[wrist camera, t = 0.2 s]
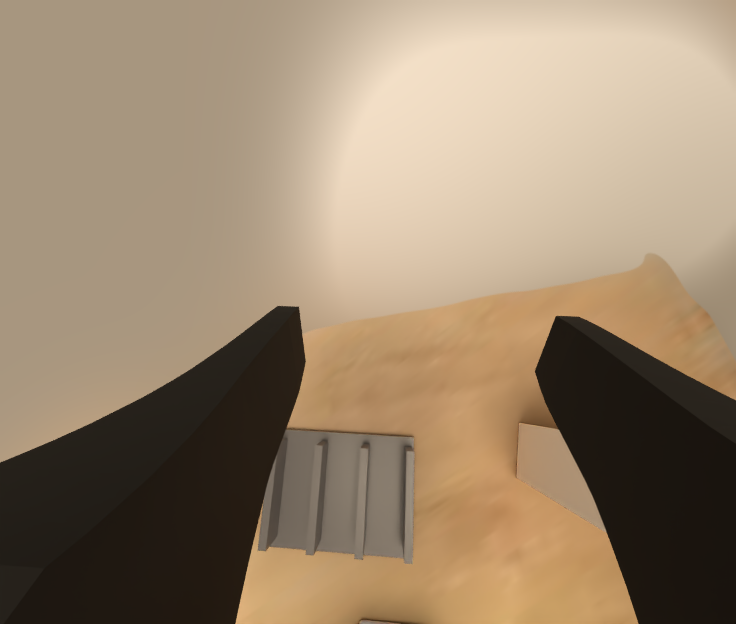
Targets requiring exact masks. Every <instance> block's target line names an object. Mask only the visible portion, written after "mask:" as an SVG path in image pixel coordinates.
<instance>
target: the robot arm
mask: <svg viewBox="0 0 736 624" xmlns="http://www.w3.org/2000/svg"><path fill="white" fill-rule="evenodd" d="M305 362H306V361H305V353H304V345H303V337H302V329H301V321H300V313H299V307H288V306H277V307H276V308H275V309H273V310H272V311H270V312H269V313H268V314H266V315H265V316H264V317H262V318H261V319H260V320H259V321H257V322H256V323H255V324H253V325H252V326H251V327H250V328H248V329H247V330H245V331H244V332H243V333H242V334H241V335H239V336H238V337H236V338H235V339H234V340H232V341H231V342H230V343H228V344H227V345H226V346H224V347H223V348H221V349H220V350H218V351H217V352H215V353H214V354H213V355H211V356H210V357H208V358H207V359H205V360H204V361H202V362H201V363H199V364H198V365H196V366H195V367H193V368H192V369H190V370H189V371H187V372H186V373H184V374H182V375H181V376H179V377H177V378H176V379H174V380H173V381H171V382H169V383H167V384H166V385H164V386H162V387H160V388H159V389H157V390H155V391H153V392H152V393H150V394H148V395H146V396H144V397H143V398H141V399H139V400H137V401H135V402H133V403H131V404H129V405H127V406H125V407H123V408H121V409H119V410H117V411H115V412H113V413H111V414H109V415H107V416H105V417H103V418H101V419H99V420H97V421H95V422H93V423H91V424H89V425H87V426H84V427H83V428H80V429H78V430H76V431H73V432H71V433H69V434H67V435H64V436H62V437H60V438H58V439H56V440H53V441H51V442H49V443H46V444H44V445H42V446H39V447H37V448H35V449H32V450H30V451H27V452H25V453H23V454H20V455H18V456H15V457H13V458H11V459H8V460H6V461H3V462H1V463H0V624H235V623H236V618H237V613H238V608H239V604H240V599H241V594H242V590H243V585H244V581H245V576H246V571H247V567H248V562H249V558H250V554H251V549H252V545H253V541H254V537H255V532H256V528H257V524H258V520H259V516H260V512H261V508H262V504H263V500H264V496H265V492H266V488H267V484H268V480H269V477H270V474H271V470H272V467H273V464H274V461H275V458H276V455H277V453H278V450H279V447H280V444H281V441H282V439H283V436H284V433H285V430H286V428H287V425H288V422H289V419H290V416H291V414H292V411H293V408H294V405H295V402H296V399H297V396H298V393H299V390H300V386H301V381H302V377H303V372H304V367H305ZM535 373H536V376H537V379H538V383H539V386H540V389H541V392H542V394H543V397H544V400H545V403H546V405H547V407H548V409H549V411H550V413H551V415H552V417H553V419H554V421H555V423H556V425H557V427H558V429H559V431H560V433H561V435H562V437H563V439H564V441H565V443H566V445H567V446H568V448H569V450H570V452H571V454H572V456H573V458H574V460H575V462H576V464H577V466H578V468H579V470H580V472H581V474H582V476H583V478H584V480H585V482H586V484H587V486H588V488H589V490H590V492H591V495H592V497H593V499H594V501H595V504H596V506H597V509H598V512H599V514H600V517H601V519H602V522H603V524H604V527H605V529H606V532H607V534H608V537H609V539H610V542H611V545H612V548H613V550H614V553H615V556H616V559H617V561H618V564H619V567H620V570H621V573H622V575H623V578H624V581H625V584H626V586H627V589H628V592H629V595H630V599H631V602H632V605H633V608H634V611H635V614H636V617H637V620H638V623H639V624H736V400H734V399H732V398H730V397H728V396H726V395H724V394H722V393H720V392H718V391H716V390H714V389H712V388H710V387H708V386H706V385H704V384H702V383H700V382H699V381H697V380H695V379H693V378H691V377H689V376H687V375H685V374H683V373H681V372H680V371H678V370H676V369H674V368H672V367H670V366H669V365H667V364H665V363H663V362H661V361H660V360H658V359H656V358H654V357H652V356H651V355H649V354H647V353H645V352H644V351H642V350H640V349H638V348H637V347H635V346H633V345H631V344H629V343H628V342H626V341H624V340H622V339H621V338H619V337H617V336H615V335H614V334H612V333H610V332H608V331H606V330H604V329H603V328H601V327H599V326H597V325H595V324H593V323H591V322H589V321H587V320H585V319H583V318H580V317H571V316H556V317H555V320H554V323H553V325H552V328H551V330H550V333H549V336H548V338H547V341H546V343H545V346H544V349H543V351H542V354H541V357H540V359H539V362H538V364H537V367H536V370H535ZM359 624H399V623H389V622H380V621H370V620H361V621H360V622H359Z"/></svg>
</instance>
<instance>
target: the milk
mask: <svg viewBox="0 0 736 624" xmlns="http://www.w3.org/2000/svg"><path fill="white" fill-rule="evenodd" d="M516 477H517V478H518V479H519V480H521V481H523V482H524V483H526V484H527V485H529V486H531V487H532V488H534V489H536V490H537V491H539V492H541V493H542V494H544V495H545V496H547V497H549V498H550V499H552V500H554V501H555V502H557V503H559V504H560V505H562V506H563V507H565V508H567V509H568V510H570V511H572V512H573V513H575V514H576V515H578V516H580V517H581V518H583V519H585V520H586V521H588V522H590V523H591V524H593V525H594V526H596V527H598V528H599V529H601V530H603V531H604V532H606V529H605V527H604V524H603V522H602V519H601V517H600V514H599V512H598V509H597V506H596V504H595V501H594V499H593V497H592V495H591V492H590V490H589V488H588V486H587V484H586V482H585V480H584V478H583V476H582V474H581V472H580V470H579V468H578V466H577V464H576V462H575V460H574V458H573V456H572V454H571V452H570V450H569V448H568V446H567V445H566V443H565V441H564V439H563V437H562V435H561V433H560V431H559V429H554V428H548V427H542V426H536V425H530V424H525V423H519V432H518V453H517V474H516ZM606 533H607V532H606Z"/></svg>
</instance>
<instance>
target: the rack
mask: <svg viewBox="0 0 736 624" xmlns="http://www.w3.org/2000/svg"><path fill="white" fill-rule="evenodd" d="M413 513H414V437H408V436H392V435H375V434H359V433H343V432H327V431H311V430H295V429H286V430H285V433H284V436H283V439H282V441H281V444H280V447H279V450H278V453H277V455H276V458H275V461H274V464H273V467H272V470H271V474H270V477H269V480H268V484H267V488H266V492H265V496H264V503H263V511H262V519H261V528H260V536H259V544H258V550H259V551H266V550H267V549H268V548H269V547H280V548H291V549H302V550H306V555H314V554H315V551H325V552H337V553H348V554H355V558H354V559H360V560H363V555H371V556H382V557H394V558H404V563H405V564H413Z"/></svg>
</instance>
